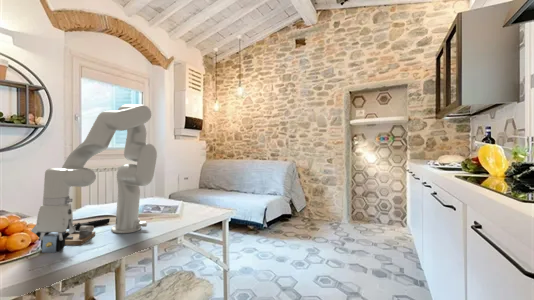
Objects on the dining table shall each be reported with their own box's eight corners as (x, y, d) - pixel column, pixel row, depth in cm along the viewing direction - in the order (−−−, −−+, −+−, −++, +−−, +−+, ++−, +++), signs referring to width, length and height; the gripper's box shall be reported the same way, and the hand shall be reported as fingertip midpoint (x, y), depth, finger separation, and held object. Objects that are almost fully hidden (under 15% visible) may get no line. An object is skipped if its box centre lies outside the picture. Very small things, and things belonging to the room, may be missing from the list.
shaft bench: (97, 235, 113) (98, 222, 113) (84, 244, 102) (85, 230, 102) (57, 234, 110) (58, 221, 110) (39, 244, 99) (40, 229, 99)
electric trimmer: (110, 225, 129) (111, 218, 129) (74, 231, 116) (75, 224, 116) (107, 223, 131) (107, 217, 131) (71, 229, 118) (71, 222, 118)
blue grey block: (51, 247, 98) (52, 231, 98) (63, 247, 99) (64, 231, 98) (40, 253, 92) (41, 236, 92) (54, 253, 93) (55, 237, 93)
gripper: (86, 199, 100) (82, 245, 101) (37, 198, 98) (34, 245, 98) (75, 204, 93) (71, 253, 93) (22, 202, 90) (18, 253, 90)
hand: (52, 249), depth 95 cm, fingers closed on blue grey block, 4 cm apart
